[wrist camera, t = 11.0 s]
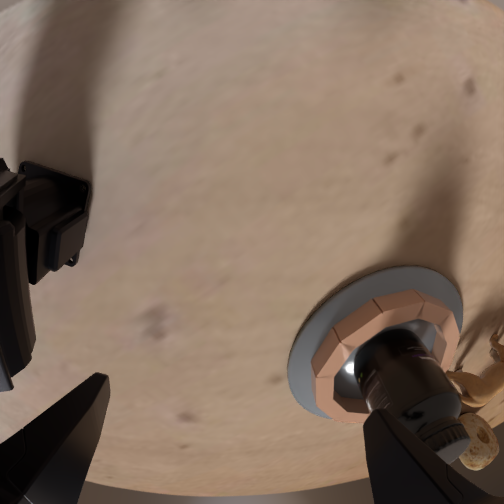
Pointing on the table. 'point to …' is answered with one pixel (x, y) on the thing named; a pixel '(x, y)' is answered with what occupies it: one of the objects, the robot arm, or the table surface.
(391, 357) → the supplement bottle
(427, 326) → the ring tray
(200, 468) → the table surface
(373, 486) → the robot arm
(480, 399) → the lion figurine
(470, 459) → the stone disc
